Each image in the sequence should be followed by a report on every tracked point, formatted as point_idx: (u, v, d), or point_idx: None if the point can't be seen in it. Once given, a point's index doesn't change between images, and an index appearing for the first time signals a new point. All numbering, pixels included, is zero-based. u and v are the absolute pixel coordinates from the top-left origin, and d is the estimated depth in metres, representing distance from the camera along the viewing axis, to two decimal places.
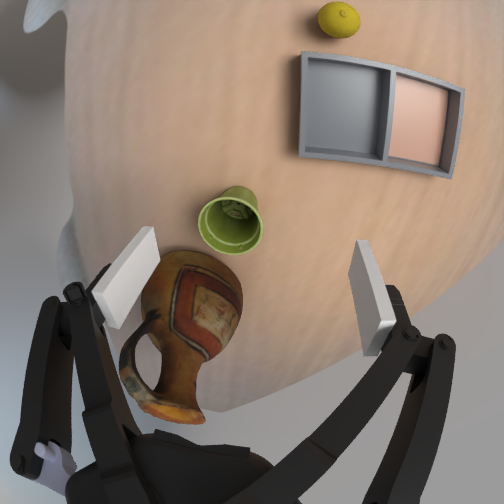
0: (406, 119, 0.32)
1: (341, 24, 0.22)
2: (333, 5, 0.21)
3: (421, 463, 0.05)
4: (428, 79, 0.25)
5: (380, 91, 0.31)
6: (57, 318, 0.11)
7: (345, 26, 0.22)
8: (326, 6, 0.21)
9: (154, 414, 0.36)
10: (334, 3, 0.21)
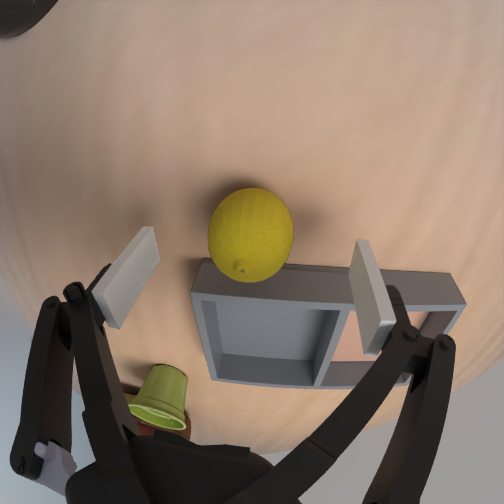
0: None
1: (241, 280, 0.16)
2: (224, 240, 0.15)
3: (421, 463, 0.05)
4: (406, 309, 0.20)
5: None
6: (57, 318, 0.11)
7: (250, 281, 0.17)
8: (213, 233, 0.16)
9: None
10: (228, 230, 0.15)
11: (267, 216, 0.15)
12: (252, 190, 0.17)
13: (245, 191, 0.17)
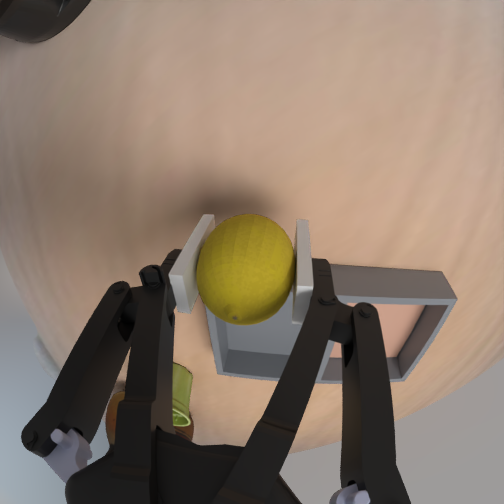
0: None
1: None
2: (214, 281, 0.13)
3: (381, 432, 0.07)
4: (400, 302, 0.22)
5: None
6: (121, 307, 0.12)
7: None
8: (202, 271, 0.13)
9: None
10: (218, 269, 0.13)
11: (264, 253, 0.13)
12: (248, 218, 0.15)
13: (240, 220, 0.15)
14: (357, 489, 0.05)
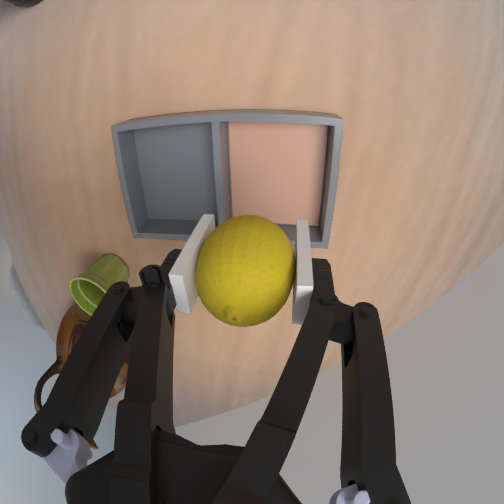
0: (260, 175, 0.31)
1: (234, 325, 0.14)
2: (213, 282, 0.13)
3: (381, 432, 0.07)
4: (272, 119, 0.24)
5: None
6: (121, 307, 0.12)
7: (244, 326, 0.14)
8: (201, 272, 0.13)
9: None
10: (217, 271, 0.13)
11: (264, 254, 0.13)
12: (247, 219, 0.15)
13: (239, 221, 0.15)
14: (357, 489, 0.05)
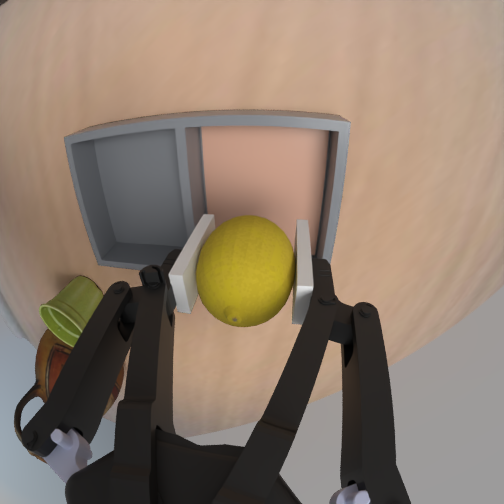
0: (242, 193, 0.25)
1: (234, 325, 0.14)
2: (213, 282, 0.13)
3: (381, 432, 0.07)
4: (254, 123, 0.18)
5: None
6: (121, 307, 0.12)
7: None
8: (201, 272, 0.13)
9: None
10: (217, 271, 0.13)
11: (264, 254, 0.13)
12: (248, 220, 0.15)
13: (239, 221, 0.15)
14: (357, 489, 0.05)
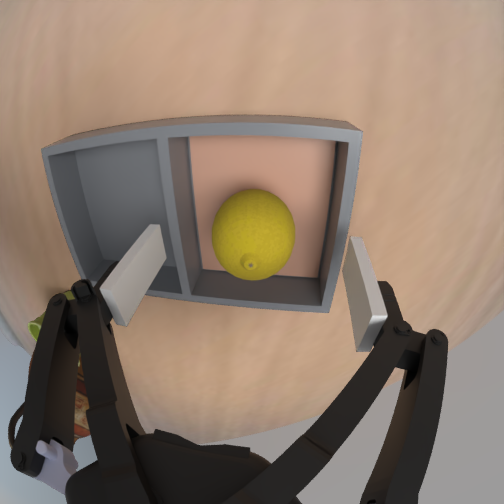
0: None
1: (247, 278, 0.16)
2: (231, 235, 0.15)
3: (417, 459, 0.05)
4: (248, 132, 0.15)
5: None
6: (64, 316, 0.11)
7: (256, 279, 0.17)
8: (219, 230, 0.16)
9: None
10: (234, 225, 0.15)
11: (272, 212, 0.16)
12: (254, 190, 0.18)
13: (248, 191, 0.17)
14: None
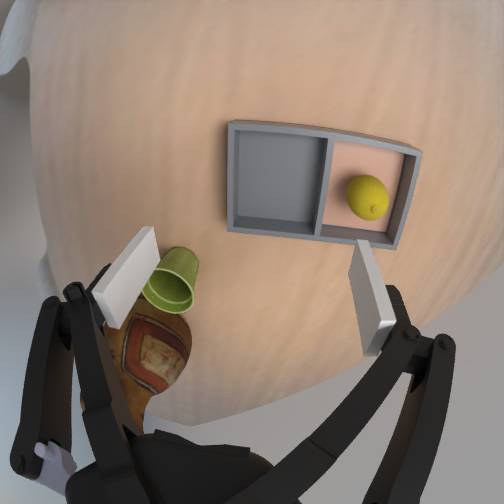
0: None
1: (369, 217, 0.31)
2: (367, 195, 0.29)
3: (421, 463, 0.05)
4: (375, 145, 0.29)
5: (320, 157, 0.34)
6: (57, 318, 0.11)
7: (372, 219, 0.31)
8: (359, 192, 0.30)
9: None
10: (368, 190, 0.29)
11: (382, 187, 0.30)
12: (370, 175, 0.31)
13: (367, 175, 0.31)
14: None
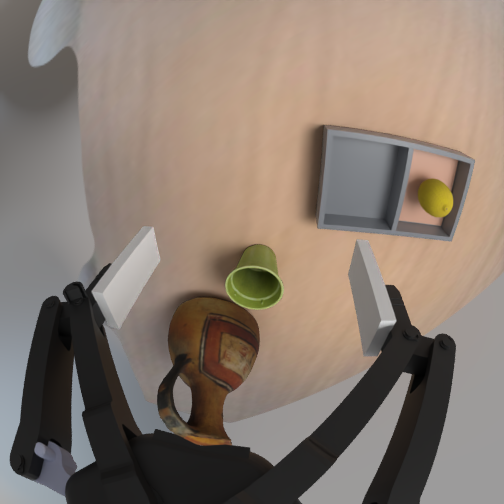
0: (416, 187, 0.38)
1: (440, 215, 0.32)
2: (440, 196, 0.31)
3: (421, 463, 0.05)
4: (442, 154, 0.30)
5: (395, 162, 0.36)
6: (57, 318, 0.11)
7: (441, 216, 0.32)
8: (433, 194, 0.32)
9: None
10: (440, 193, 0.31)
11: (449, 190, 0.31)
12: (437, 179, 0.33)
13: (436, 179, 0.33)
14: None
